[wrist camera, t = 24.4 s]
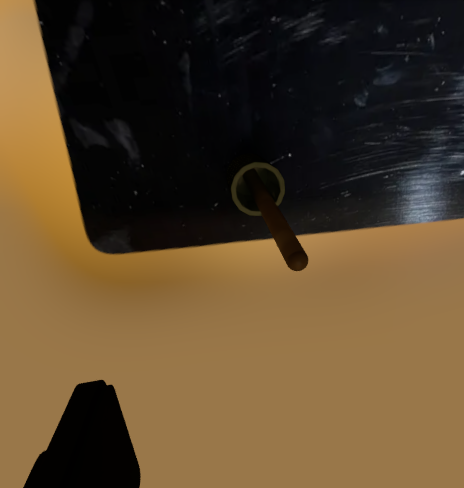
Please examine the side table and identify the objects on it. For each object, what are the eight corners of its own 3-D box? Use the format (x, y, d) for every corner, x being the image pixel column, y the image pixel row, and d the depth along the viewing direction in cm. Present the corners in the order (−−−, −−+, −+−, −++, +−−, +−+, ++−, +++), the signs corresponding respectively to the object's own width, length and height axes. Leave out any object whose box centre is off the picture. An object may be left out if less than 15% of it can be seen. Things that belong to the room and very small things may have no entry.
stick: (245, 180, 38) (296, 279, 24) (237, 169, 37) (285, 265, 24) (257, 171, 37) (315, 267, 24) (249, 161, 37) (304, 253, 23)
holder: (230, 201, 38) (235, 220, 32) (223, 156, 37) (227, 166, 30) (272, 194, 39) (287, 211, 32) (267, 149, 37) (281, 157, 30)
